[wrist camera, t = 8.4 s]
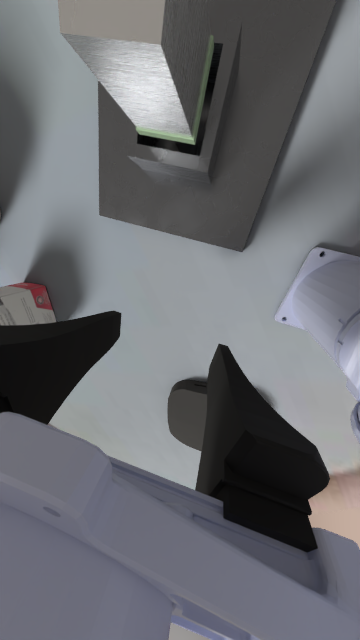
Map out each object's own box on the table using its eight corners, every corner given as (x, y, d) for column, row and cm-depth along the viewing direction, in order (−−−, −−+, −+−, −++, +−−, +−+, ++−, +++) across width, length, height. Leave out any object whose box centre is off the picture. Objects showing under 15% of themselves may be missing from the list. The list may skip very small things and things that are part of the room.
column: (214, 51, 10) (194, -249, 4) (195, 147, 12) (162, 49, 6) (148, 43, 10) (38, -233, 4) (141, 136, 12) (58, 36, 6)
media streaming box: (249, 447, 31) (251, 467, 29) (173, 428, 34) (168, 444, 32) (265, 391, 25) (270, 409, 22) (171, 374, 28) (165, 388, 26)
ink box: (20, 280, 27) (-108, 307, 17) (45, 284, 26) (-75, 314, 16) (38, 327, 31) (-58, 372, 21) (60, 332, 30) (-28, 382, 20)
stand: (345, -29, 10) (424, -207, 6) (241, 251, 18) (245, 255, 14) (106, -42, 12) (45, -184, 8) (105, 216, 20) (73, 210, 15)
